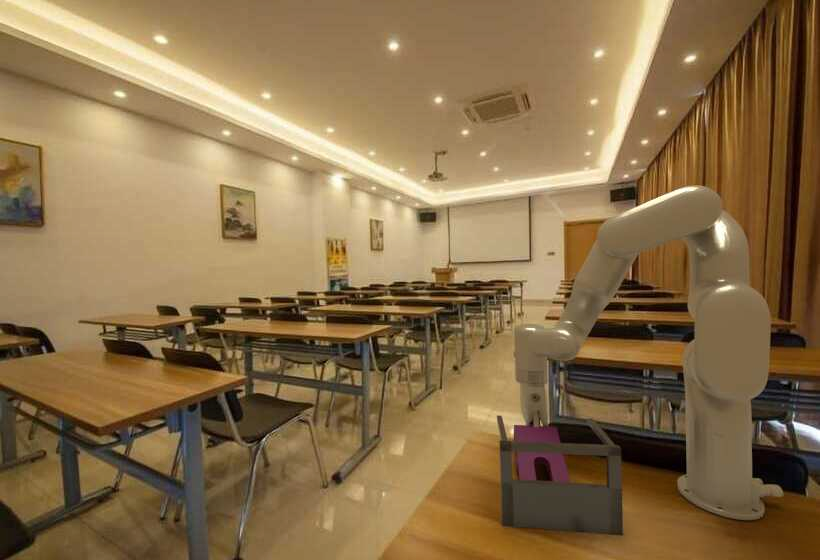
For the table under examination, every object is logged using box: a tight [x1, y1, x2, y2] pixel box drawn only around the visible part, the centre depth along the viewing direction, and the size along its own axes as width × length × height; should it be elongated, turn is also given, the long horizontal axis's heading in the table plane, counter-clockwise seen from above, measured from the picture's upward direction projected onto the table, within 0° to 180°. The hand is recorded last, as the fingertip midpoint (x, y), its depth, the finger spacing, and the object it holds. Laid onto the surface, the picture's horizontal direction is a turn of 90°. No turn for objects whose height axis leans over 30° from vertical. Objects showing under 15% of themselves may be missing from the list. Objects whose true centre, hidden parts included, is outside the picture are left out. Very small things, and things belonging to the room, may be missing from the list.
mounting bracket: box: [513, 424, 571, 483], centre depth 75 cm, size 9×8×18 cm
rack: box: [496, 415, 624, 536], centre depth 66 cm, size 20×12×15 cm, turn 81°
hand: (533, 448), depth 85 cm, fingers closed
